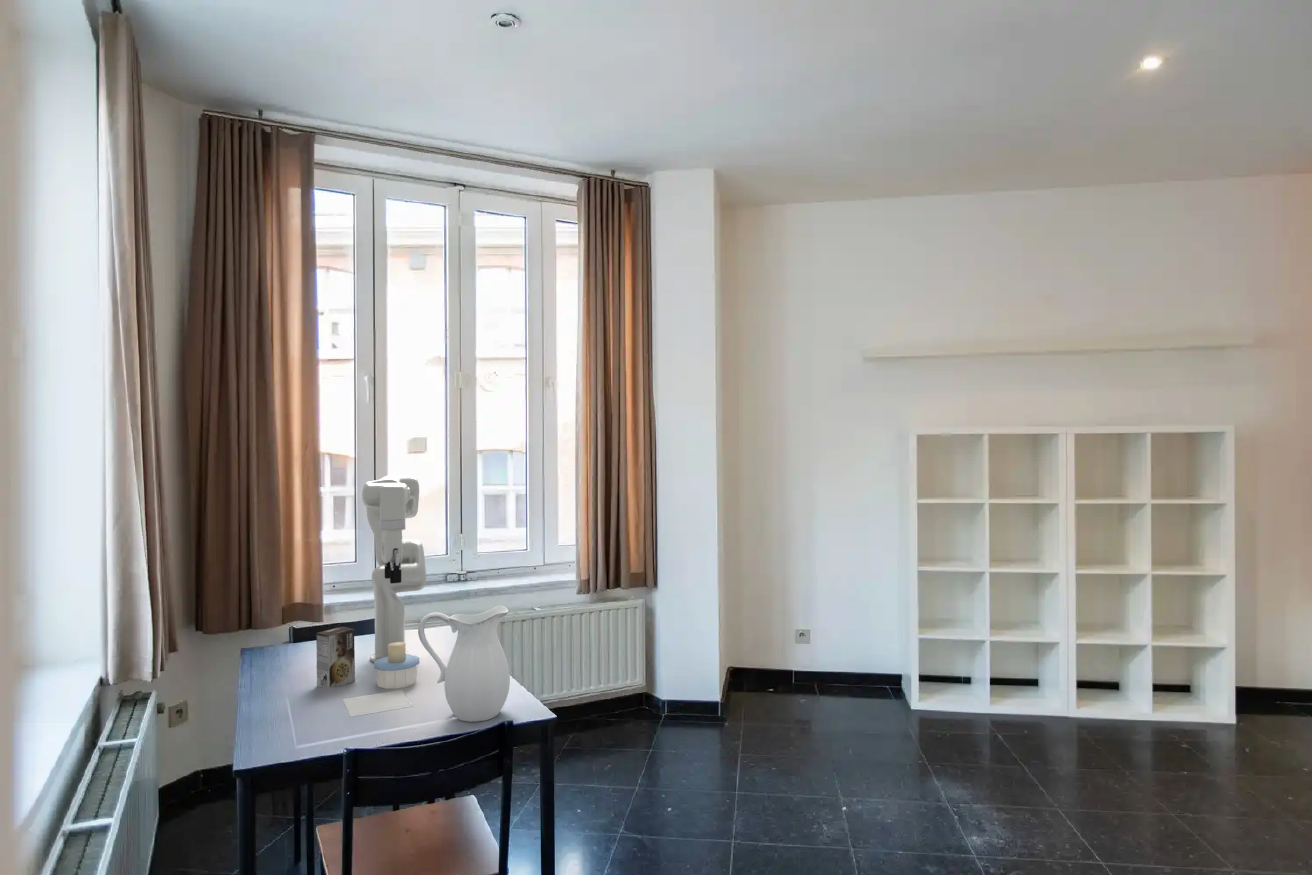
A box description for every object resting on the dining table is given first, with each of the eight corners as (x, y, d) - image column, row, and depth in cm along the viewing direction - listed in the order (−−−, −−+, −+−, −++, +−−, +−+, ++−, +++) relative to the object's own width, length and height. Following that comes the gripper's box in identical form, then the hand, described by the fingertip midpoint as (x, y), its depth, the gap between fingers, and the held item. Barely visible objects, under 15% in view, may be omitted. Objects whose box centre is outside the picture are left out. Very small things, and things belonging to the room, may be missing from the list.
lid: (370, 661, 231) (370, 642, 231) (414, 655, 237) (414, 636, 237) (377, 673, 219) (377, 652, 220) (423, 666, 226) (423, 646, 226)
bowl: (374, 682, 230) (374, 662, 230) (412, 676, 236) (412, 657, 236) (380, 692, 221) (380, 671, 221) (419, 686, 226) (419, 666, 226)
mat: (343, 701, 213) (343, 698, 213) (401, 691, 221) (401, 689, 221) (350, 719, 199) (350, 716, 199) (413, 708, 207) (412, 706, 207)
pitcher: (514, 703, 211) (513, 603, 211) (504, 725, 194) (503, 616, 194) (427, 704, 210) (427, 604, 210) (410, 727, 193) (409, 618, 193)
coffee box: (342, 677, 235) (341, 625, 235) (355, 681, 231) (355, 628, 232) (315, 686, 227) (315, 632, 227) (329, 689, 224) (329, 634, 224)
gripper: (375, 523, 240) (375, 577, 239) (384, 528, 224) (384, 586, 224) (400, 521, 243) (400, 575, 243) (410, 526, 228) (411, 583, 228)
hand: (392, 580), depth 234 cm, fingers open, 9 cm apart
